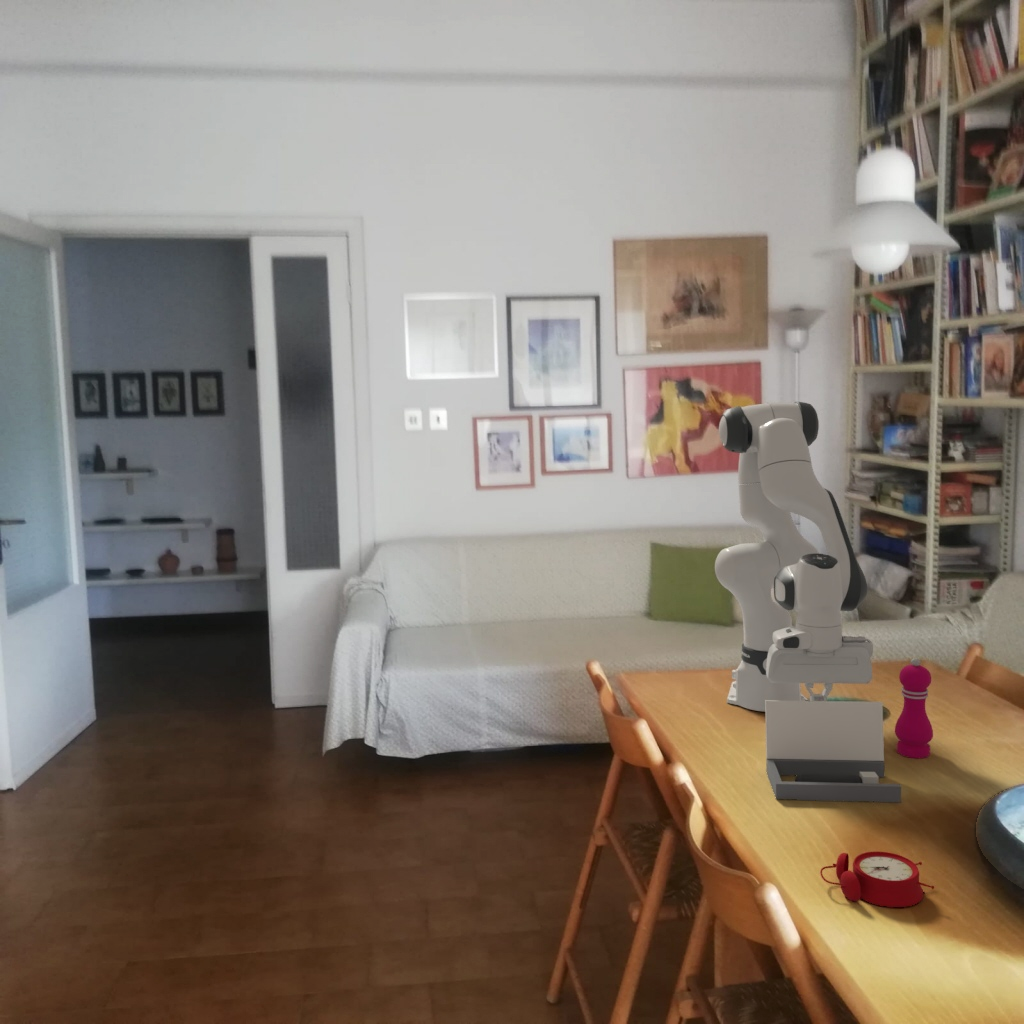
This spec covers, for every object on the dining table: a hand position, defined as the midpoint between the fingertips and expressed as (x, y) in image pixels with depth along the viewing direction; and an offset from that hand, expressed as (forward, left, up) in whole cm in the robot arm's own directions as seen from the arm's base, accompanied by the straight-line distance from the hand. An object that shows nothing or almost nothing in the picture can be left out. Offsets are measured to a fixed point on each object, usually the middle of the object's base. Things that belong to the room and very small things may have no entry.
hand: (818, 703), depth 191 cm
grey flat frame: (+13, 0, -12) cm, 18 cm away
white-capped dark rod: (+13, +1, -12) cm, 18 cm away
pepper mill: (-5, +20, -12) cm, 24 cm away
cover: (+6, 0, -3) cm, 7 cm away
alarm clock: (+50, -1, -12) cm, 52 cm away
